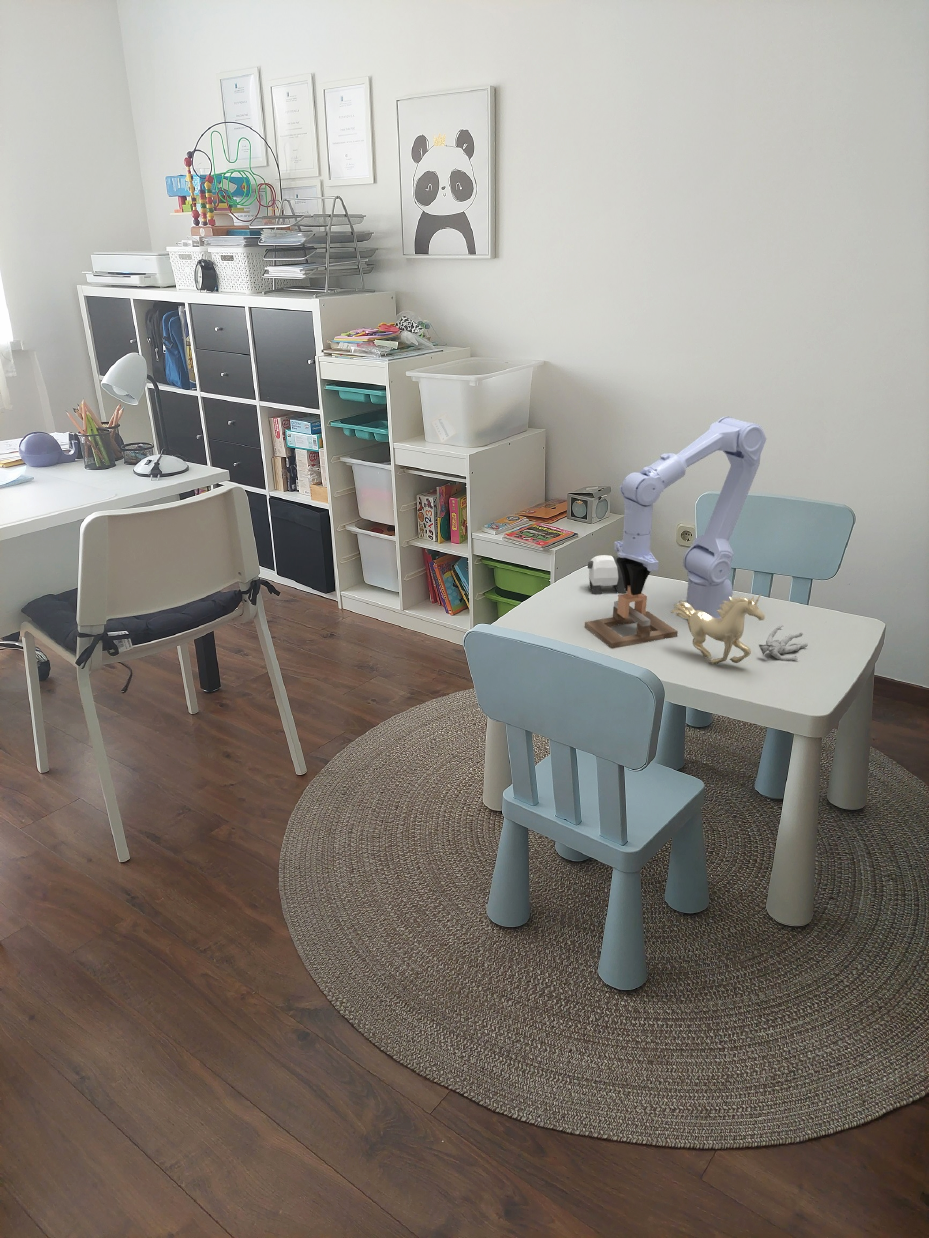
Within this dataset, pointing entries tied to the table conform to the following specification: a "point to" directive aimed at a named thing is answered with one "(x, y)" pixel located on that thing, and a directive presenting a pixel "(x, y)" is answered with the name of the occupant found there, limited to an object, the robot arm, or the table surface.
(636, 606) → the block
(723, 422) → the robot arm
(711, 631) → the unicorn
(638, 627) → the brown wooden frame
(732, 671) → the table surface
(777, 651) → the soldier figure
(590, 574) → the giant panda
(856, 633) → the table surface
